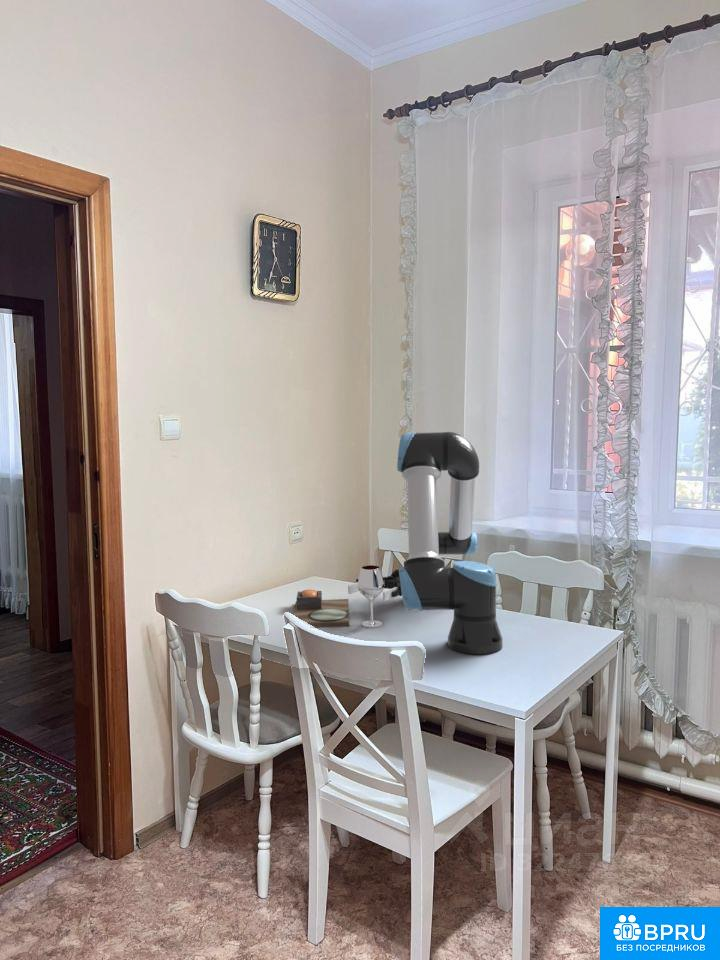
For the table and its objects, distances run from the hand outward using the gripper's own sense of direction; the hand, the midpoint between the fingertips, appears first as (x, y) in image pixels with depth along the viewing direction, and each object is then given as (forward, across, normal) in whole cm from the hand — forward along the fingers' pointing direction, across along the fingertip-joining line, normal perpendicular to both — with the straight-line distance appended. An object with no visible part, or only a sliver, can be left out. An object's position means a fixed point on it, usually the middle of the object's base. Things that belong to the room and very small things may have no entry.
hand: (366, 593), depth 219 cm
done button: (-3, +27, -7) cm, 28 cm away
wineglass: (-2, 0, -11) cm, 11 cm away
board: (-1, +20, -10) cm, 22 cm away
